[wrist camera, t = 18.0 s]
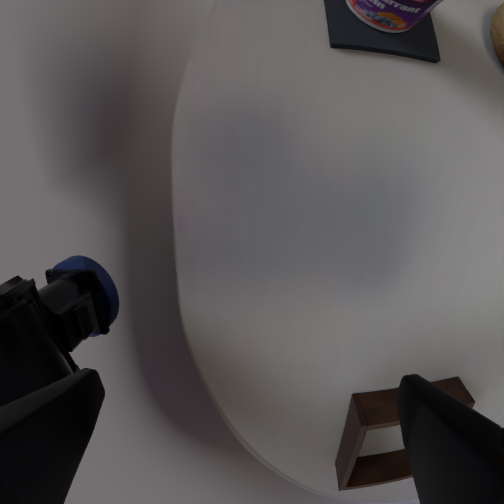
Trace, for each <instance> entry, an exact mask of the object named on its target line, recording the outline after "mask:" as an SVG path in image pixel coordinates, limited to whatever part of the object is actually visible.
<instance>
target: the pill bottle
mask: <svg viewBox="0 0 504 504" xmlns="http://www.w3.org/2000/svg"><path fill="white" fill-rule="evenodd" d="M442 1H443V0H346V2H347V5H348V6H349V8H350V9H351V11H352V12H353V13H354V14H355V15H356V16H357V17H358V18H359V19H360V20H362V21H363V22H364V23H366V24H368V25H369V26H371V27H373V28H376V29H378V30H381V31H385V32H390V33H399V32H404V31H406V30H409V29H410V28H411V27H413V26H414V25H415V24H416V23H417V22H419V21H420V20H421V19H422V18H423V17H424V16H425V15H427V14H428V13H429V12H430V11H431V10H432V9H433V8H435V7H436V6H437V5H438V4H439V3H440V2H442Z"/></svg>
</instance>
